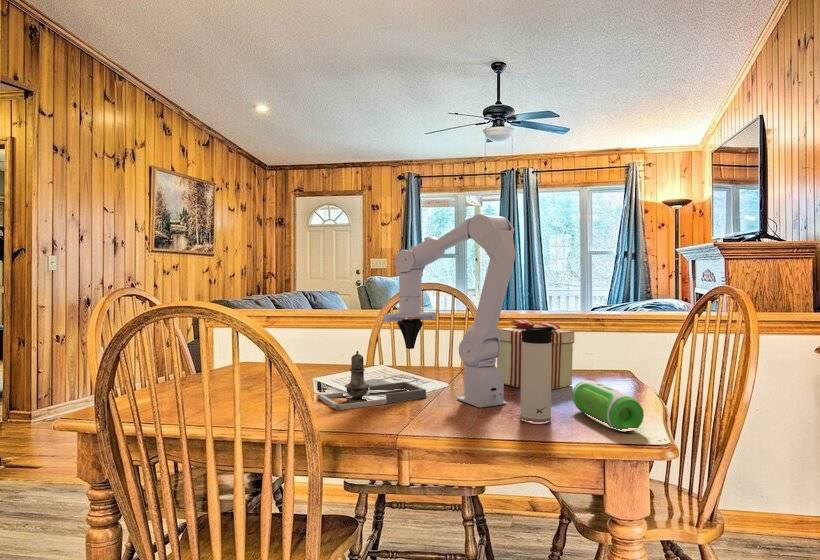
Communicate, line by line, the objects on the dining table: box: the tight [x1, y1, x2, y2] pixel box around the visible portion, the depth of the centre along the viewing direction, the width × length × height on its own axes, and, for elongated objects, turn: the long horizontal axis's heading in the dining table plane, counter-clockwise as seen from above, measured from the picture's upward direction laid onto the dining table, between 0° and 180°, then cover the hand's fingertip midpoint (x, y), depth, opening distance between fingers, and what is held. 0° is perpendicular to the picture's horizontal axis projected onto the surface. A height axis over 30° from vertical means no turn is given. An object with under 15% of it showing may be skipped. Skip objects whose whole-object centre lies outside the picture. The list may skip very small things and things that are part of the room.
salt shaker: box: [344, 350, 371, 403], centre depth 137 cm, size 6×6×12 cm
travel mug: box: [519, 326, 554, 422], centre depth 120 cm, size 6×7×20 cm
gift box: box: [496, 319, 575, 390], centre depth 157 cm, size 17×18×17 cm
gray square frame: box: [318, 391, 386, 411], centre depth 136 cm, size 12×12×1 cm
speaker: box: [571, 379, 645, 430], centre depth 120 cm, size 18×7×8 cm, turn 11°
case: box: [368, 381, 427, 404], centre depth 142 cm, size 10×10×2 cm
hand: (409, 348), depth 150 cm, fingers closed
